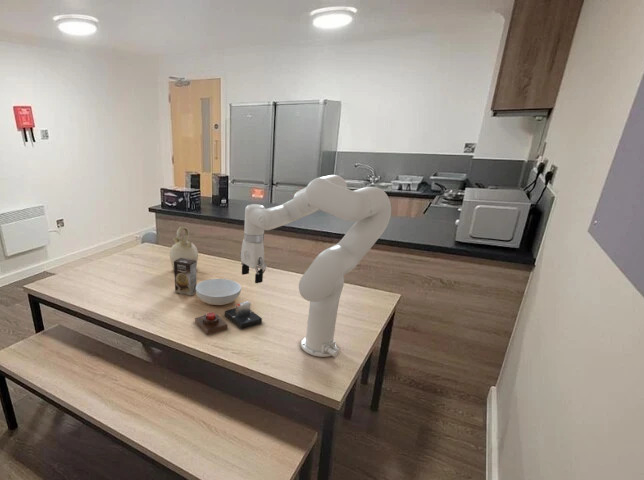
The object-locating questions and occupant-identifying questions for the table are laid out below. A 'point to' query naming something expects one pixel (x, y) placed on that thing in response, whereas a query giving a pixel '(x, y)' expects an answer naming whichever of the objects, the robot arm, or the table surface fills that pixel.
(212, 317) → the button
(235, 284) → the serving bowl
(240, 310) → the rotary selector knob
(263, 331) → the table surface
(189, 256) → the jug
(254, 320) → the tap console
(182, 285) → the coffee box
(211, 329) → the control block
